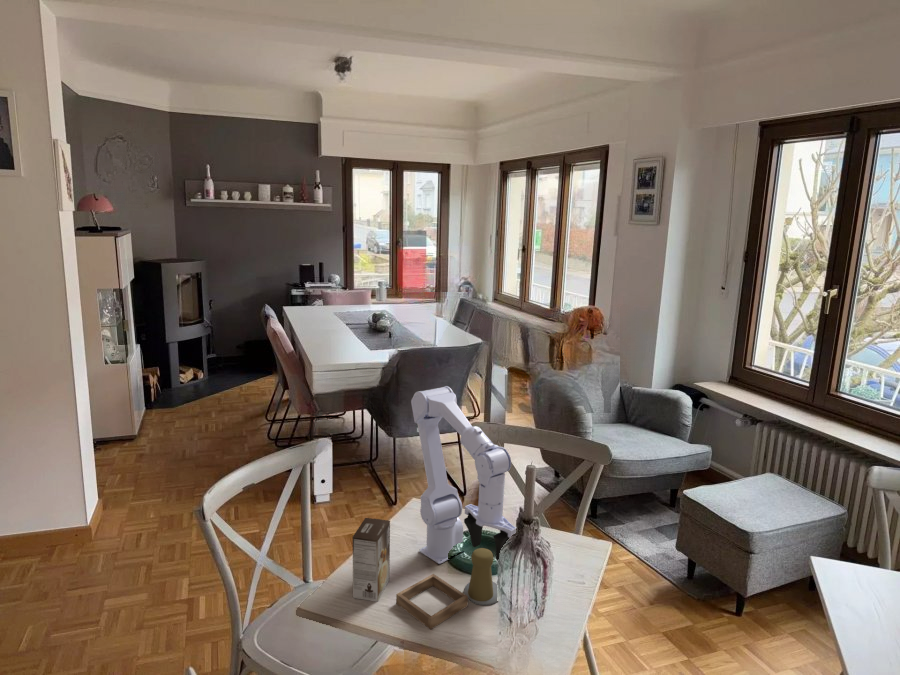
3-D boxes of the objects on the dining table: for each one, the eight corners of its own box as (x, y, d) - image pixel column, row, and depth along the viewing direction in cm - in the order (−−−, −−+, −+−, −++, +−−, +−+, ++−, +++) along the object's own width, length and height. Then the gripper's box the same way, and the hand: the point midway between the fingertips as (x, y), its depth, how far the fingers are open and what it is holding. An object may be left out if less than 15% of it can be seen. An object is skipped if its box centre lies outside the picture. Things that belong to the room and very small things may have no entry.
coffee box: (365, 575, 152) (365, 516, 148) (390, 579, 151) (391, 519, 147) (352, 598, 143) (351, 536, 139) (378, 602, 142) (378, 540, 138)
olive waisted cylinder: (464, 587, 148) (466, 546, 145) (488, 583, 149) (490, 542, 147) (472, 603, 142) (474, 560, 139) (497, 599, 144) (499, 557, 141)
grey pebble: (481, 576, 153) (481, 574, 153) (509, 593, 147) (509, 591, 146) (456, 592, 147) (456, 590, 146) (484, 610, 140) (484, 608, 140)
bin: (433, 582, 150) (433, 573, 149) (467, 606, 142) (467, 596, 141) (396, 603, 142) (396, 594, 141) (430, 629, 134) (430, 619, 133)
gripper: (456, 493, 144) (454, 545, 147) (503, 517, 134) (500, 572, 137) (477, 484, 149) (474, 534, 152) (524, 506, 139) (520, 560, 142)
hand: (488, 552), depth 145 cm, fingers open, 7 cm apart
